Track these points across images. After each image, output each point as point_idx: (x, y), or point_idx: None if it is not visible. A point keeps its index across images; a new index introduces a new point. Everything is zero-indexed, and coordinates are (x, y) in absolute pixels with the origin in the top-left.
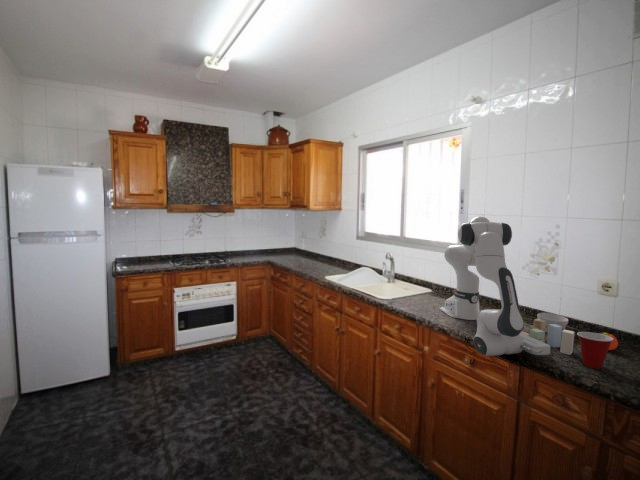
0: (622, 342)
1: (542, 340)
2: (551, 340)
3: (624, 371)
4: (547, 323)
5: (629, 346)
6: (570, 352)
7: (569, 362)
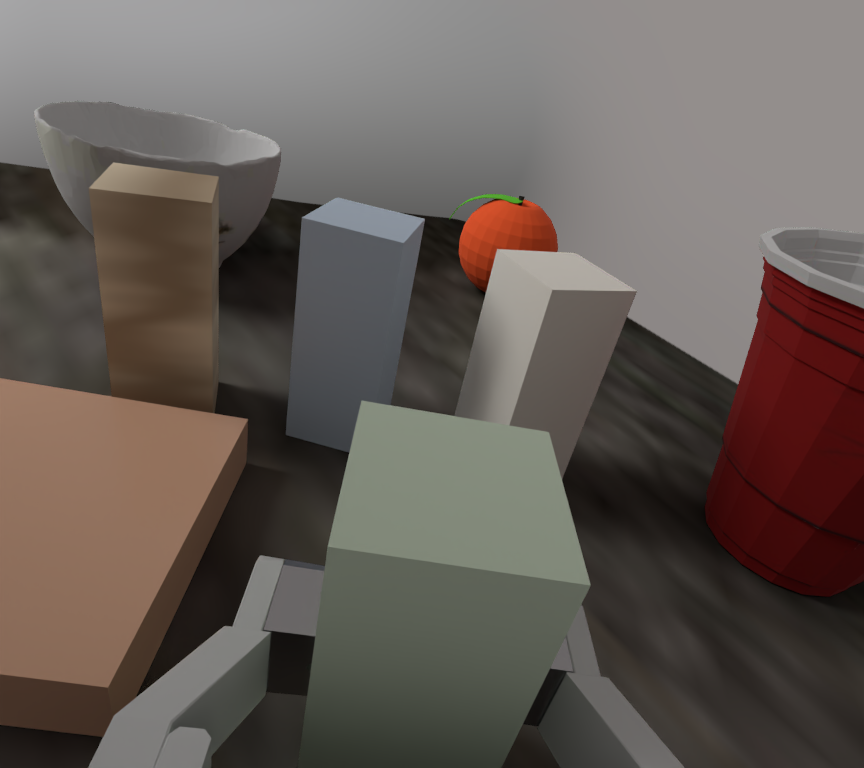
0: (441, 222)
1: (593, 652)
2: (351, 397)
3: None
4: None
5: None
6: (562, 471)
7: (754, 671)
